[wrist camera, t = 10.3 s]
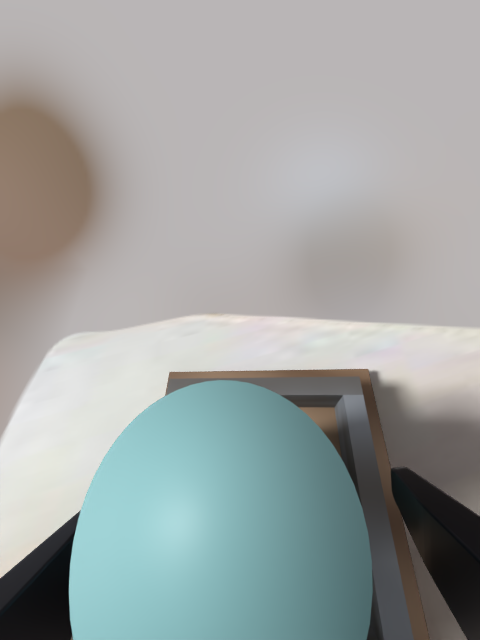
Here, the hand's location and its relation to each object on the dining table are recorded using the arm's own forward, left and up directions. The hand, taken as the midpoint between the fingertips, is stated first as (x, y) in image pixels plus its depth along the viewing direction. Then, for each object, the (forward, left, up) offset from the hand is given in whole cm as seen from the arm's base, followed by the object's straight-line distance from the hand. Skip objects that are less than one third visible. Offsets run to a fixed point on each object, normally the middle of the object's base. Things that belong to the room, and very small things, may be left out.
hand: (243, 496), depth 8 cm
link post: (0, 0, -8) cm, 8 cm away
